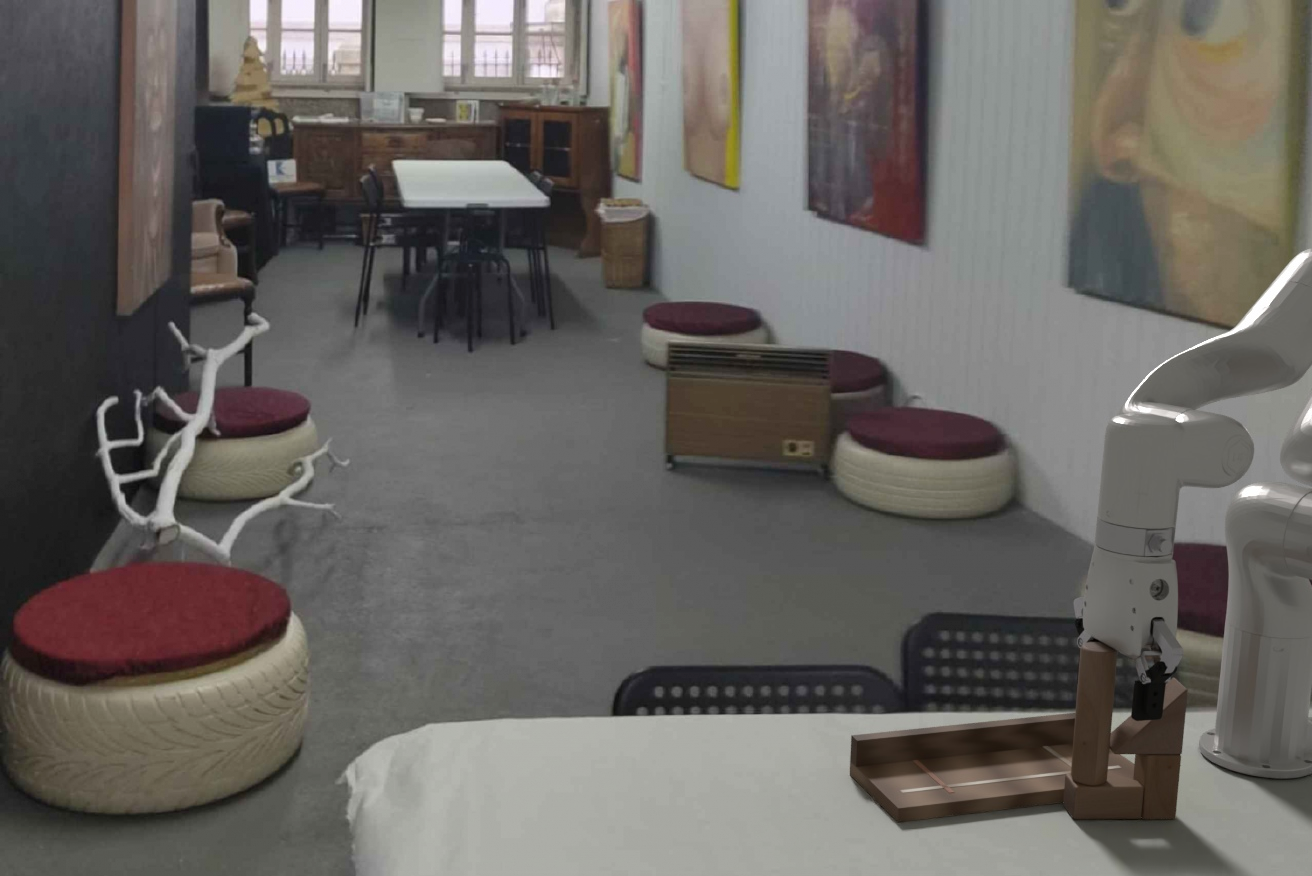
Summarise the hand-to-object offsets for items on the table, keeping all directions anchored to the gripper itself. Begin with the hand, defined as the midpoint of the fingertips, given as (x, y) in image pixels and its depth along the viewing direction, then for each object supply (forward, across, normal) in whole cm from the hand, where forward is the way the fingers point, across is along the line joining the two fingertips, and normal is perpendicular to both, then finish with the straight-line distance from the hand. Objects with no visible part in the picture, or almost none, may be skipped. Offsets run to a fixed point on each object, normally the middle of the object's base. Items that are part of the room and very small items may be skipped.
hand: (1117, 702), depth 151 cm
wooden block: (+12, 0, -1) cm, 12 cm away
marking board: (+12, +9, +7) cm, 17 cm away
